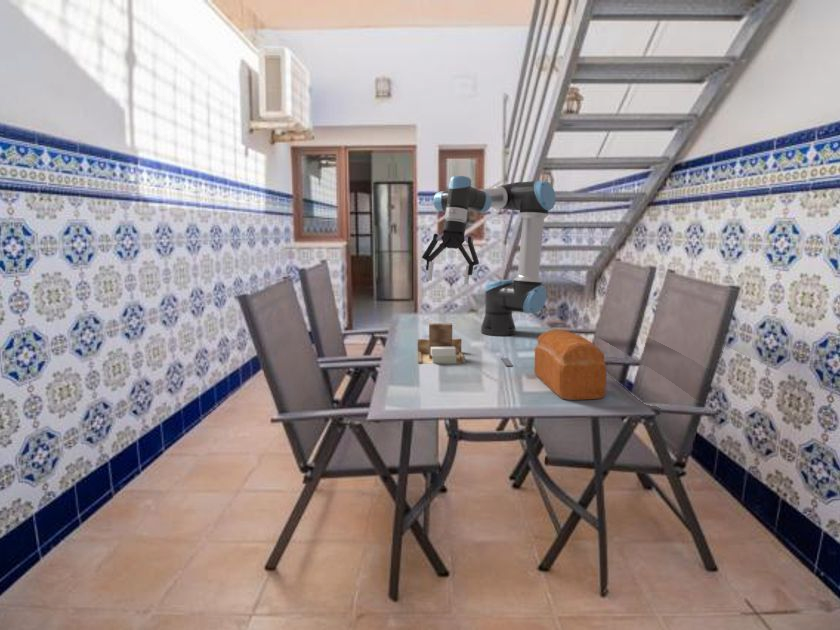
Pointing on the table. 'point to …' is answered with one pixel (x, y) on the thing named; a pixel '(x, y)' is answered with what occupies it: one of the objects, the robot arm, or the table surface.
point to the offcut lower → (444, 359)
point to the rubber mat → (506, 362)
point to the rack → (424, 352)
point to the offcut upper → (443, 351)
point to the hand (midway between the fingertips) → (447, 282)
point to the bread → (570, 365)
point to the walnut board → (439, 335)
